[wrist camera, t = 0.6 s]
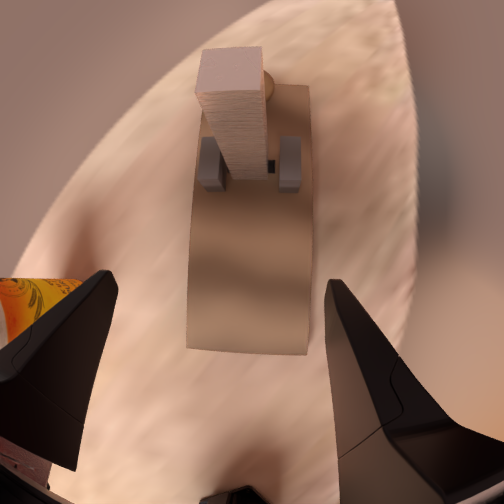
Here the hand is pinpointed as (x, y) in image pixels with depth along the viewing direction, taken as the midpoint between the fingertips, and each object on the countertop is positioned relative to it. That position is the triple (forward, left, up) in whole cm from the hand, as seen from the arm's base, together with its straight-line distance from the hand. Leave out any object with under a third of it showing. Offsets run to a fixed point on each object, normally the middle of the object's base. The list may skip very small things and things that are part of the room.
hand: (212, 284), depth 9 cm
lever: (+6, -5, -10) cm, 13 cm away
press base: (+5, -3, -13) cm, 14 cm away
